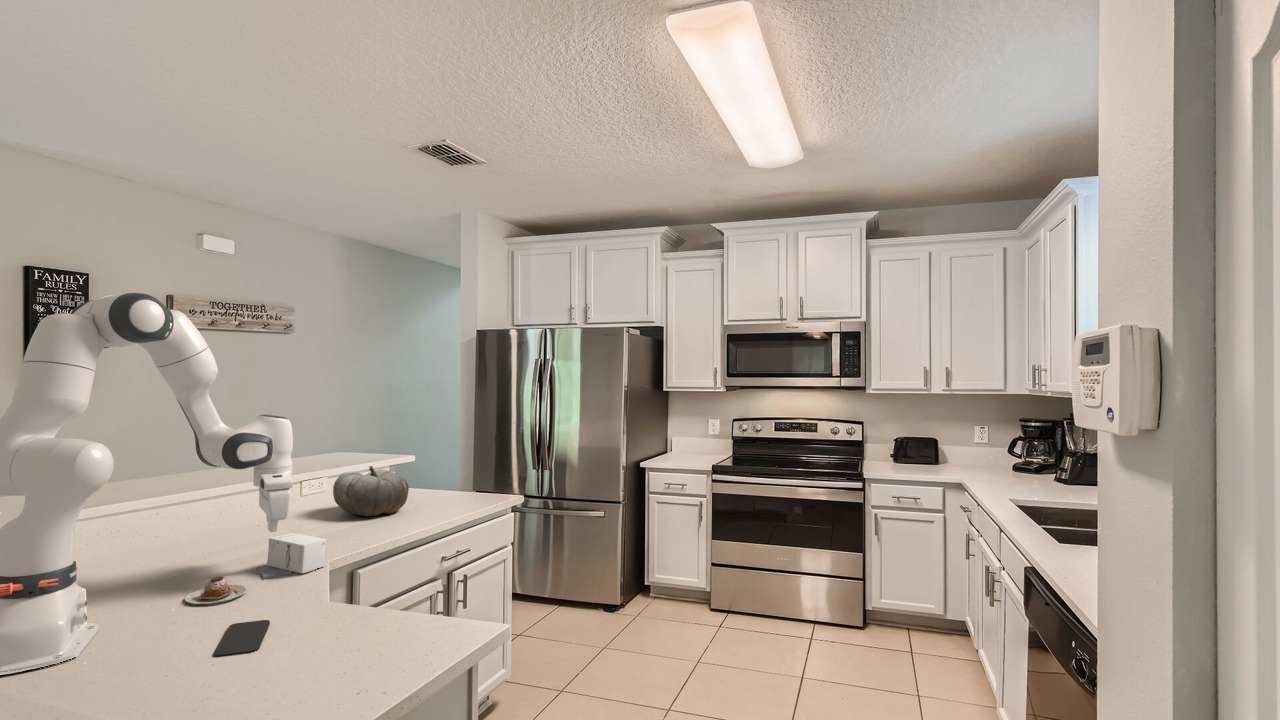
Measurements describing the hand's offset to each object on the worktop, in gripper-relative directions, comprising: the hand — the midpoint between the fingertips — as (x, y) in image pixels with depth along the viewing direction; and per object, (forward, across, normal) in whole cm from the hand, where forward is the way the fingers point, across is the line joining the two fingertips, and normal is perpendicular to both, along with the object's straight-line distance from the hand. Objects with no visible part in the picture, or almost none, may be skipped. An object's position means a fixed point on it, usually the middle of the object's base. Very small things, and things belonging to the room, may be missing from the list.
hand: (272, 531), depth 170 cm
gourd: (+10, -50, +39) cm, 64 cm away
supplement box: (+6, -3, +2) cm, 7 cm away
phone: (+11, +43, -11) cm, 46 cm away
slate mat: (+10, +2, 0) cm, 10 cm away
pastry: (+11, +14, -13) cm, 22 cm away
